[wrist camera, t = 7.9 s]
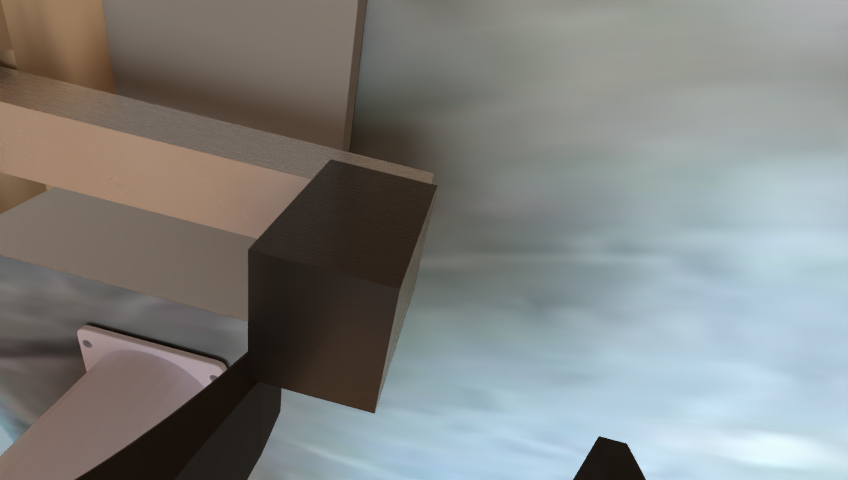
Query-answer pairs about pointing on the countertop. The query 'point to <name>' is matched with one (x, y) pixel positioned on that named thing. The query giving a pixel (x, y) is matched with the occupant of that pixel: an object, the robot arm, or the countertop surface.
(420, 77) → the countertop surface
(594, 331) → the countertop surface
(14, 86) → the shaft
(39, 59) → the bearing block
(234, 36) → the mounting plate
